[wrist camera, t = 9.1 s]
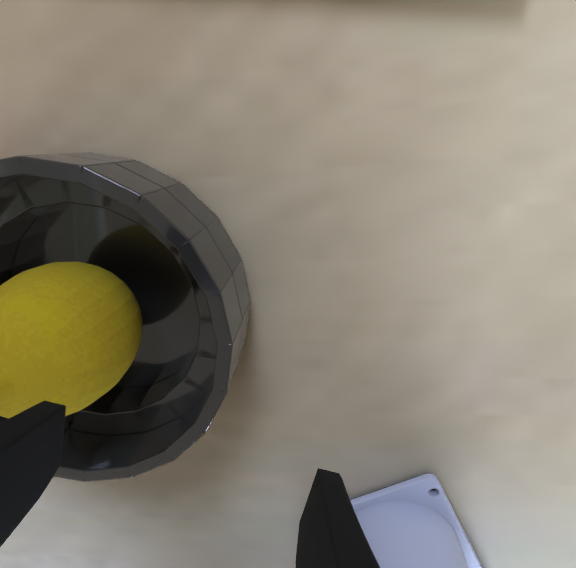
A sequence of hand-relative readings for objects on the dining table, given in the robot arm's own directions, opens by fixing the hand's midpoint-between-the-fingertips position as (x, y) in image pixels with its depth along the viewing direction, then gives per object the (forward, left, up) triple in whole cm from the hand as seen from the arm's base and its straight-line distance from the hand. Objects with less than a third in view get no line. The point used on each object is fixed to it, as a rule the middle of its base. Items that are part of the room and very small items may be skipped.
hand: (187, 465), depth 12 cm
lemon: (+4, +5, -9) cm, 11 cm away
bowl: (+4, +5, -9) cm, 11 cm away
